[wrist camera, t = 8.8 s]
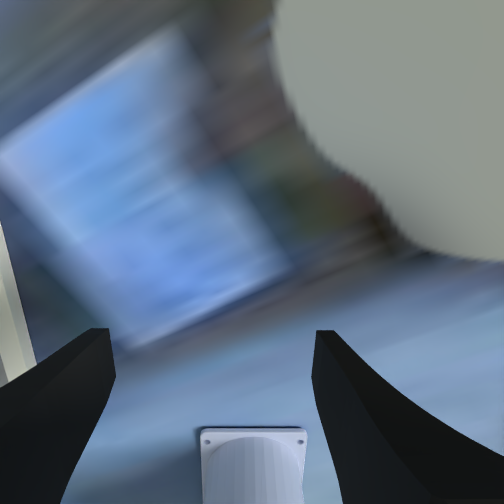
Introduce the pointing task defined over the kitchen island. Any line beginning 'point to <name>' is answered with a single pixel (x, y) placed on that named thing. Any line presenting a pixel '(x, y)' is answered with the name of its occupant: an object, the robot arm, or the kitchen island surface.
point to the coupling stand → (12, 324)
